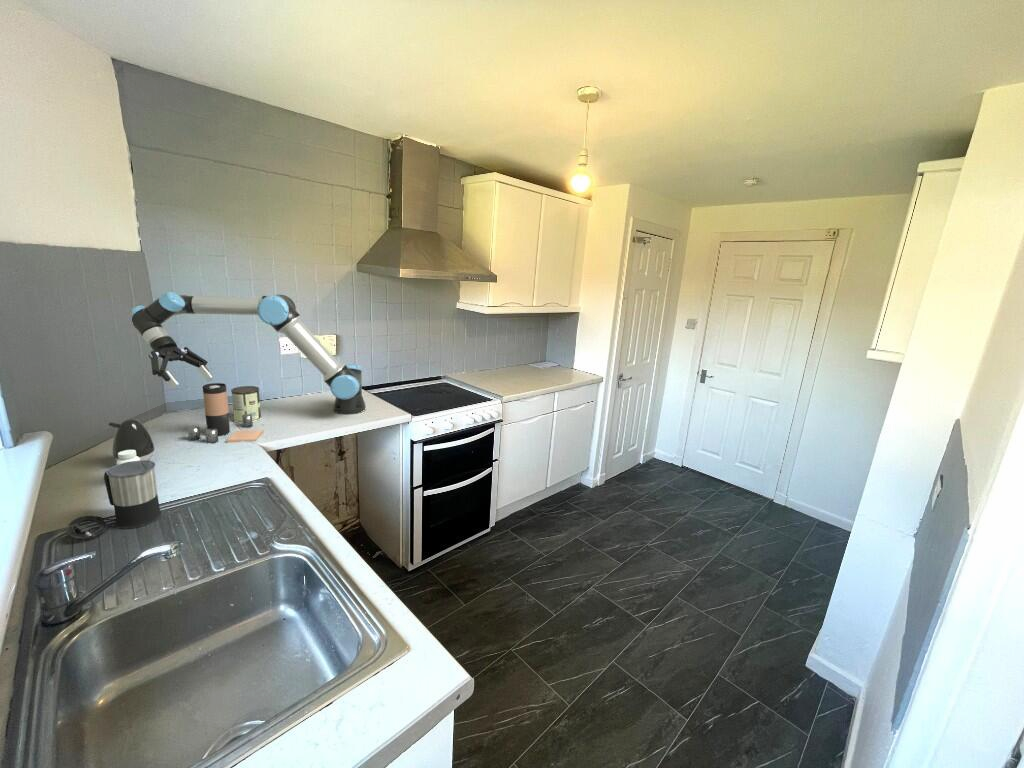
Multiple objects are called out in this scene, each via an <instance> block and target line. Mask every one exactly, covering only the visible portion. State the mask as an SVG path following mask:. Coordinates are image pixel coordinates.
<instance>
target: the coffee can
mask: <svg viewBox="0 0 1024 768" xmlns="http://www.w3.org/2000/svg"><path fill="white" fill-rule="evenodd" d="M230 392H231V398H232V408H233V420H234V421H233V422H235V423H238V424H243V423H242V415H244V414H252V422H253V423H254V422H259V421H261V419H262V414H261V413H262V411H261V402H260V401H261V400H260V387H259V386H255V385H244V386H243V385H242V386H237V387H234V388H232V389H231V390H230Z"/></svg>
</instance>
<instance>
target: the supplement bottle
mask: <svg viewBox="0 0 1024 768" xmlns="http://www.w3.org/2000/svg"><path fill="white" fill-rule="evenodd" d="M118 458H119V460H116V462H115V464H116V465H118V464H122V463H125V462H131V461H140V458H139V457H138V456H136V451H135V450H125V451H121V452H119V453H118ZM116 465H115V466H116Z"/></svg>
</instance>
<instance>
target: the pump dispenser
mask: <svg viewBox="0 0 1024 768" xmlns="http://www.w3.org/2000/svg"><path fill="white" fill-rule="evenodd" d="M108 426H110V427H112V428H116V431H115V433H114V437H113V441H112V456H113V458H114V459H115V460H116V461H117V460H119V458H118V453H119V452H121V451H125V450H135V451H136V456H138V457H139V458H140V460H147V461H150V459H151V458H152V457H153V455H154V452H155V444H154V442H153V439H152V436H151V435H150V432H149V431H148V429H147V428H146V427H145V425H144V424H143V423H142V422H140V420H137V419H136V418H135V419H134V418H129V419H125V420H123V421H122V422H120V423H116V422H109V423H108Z"/></svg>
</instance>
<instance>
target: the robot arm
mask: <svg viewBox="0 0 1024 768" xmlns="http://www.w3.org/2000/svg"><path fill="white" fill-rule="evenodd" d="M132 308H133V309H132V322H133V325H134V326H133V325H132V326H133V327H134V328H135V329H136V330H137V331H138V333H139V334H140V335H141V336H142V338H143V339H144V341H146V343H147V344H148V345H149V346H150V348H151V349H152V351H151V352H149V354H148V358H149V359H150V364H151V373H152V375H153V376H156V375H157V377H161V378H162V380H163V381H165V382H167V383H168V384H169V385H170V386H171V388H172V389H173V390H174V389H177V387H178V386H179V382H178V381H177V380H176V379H175V378H174V376H173V375H172V374H171V372H169V371H168V370H167V366H168V363H169V362H173V361H174V362H177V361H180V362H185V363H187V364H189V365H191V366H194V367H196V368H197V370H198V371H199V372H200V374H201V375H202V376H203V377H204V379H205V380H206V381H207V382H210V381H211V380H212V379H213V376H212V374H211V373H210V370H209V369H208V368H207V366H206V365H207V364H208V361H207V360H206V359H204V358H203V357H202V356H200V355H198V354H196V353H195V352H193V351H192V350H190V349H189V347H187V346H185V347H184V348H179V347H178V345H177V342H176V341H175V340H174V339H173V338H172V336H171V335H170V334H169V332H167V330H166V329H165V327H164V326H163V325H162V324H163V323H165V322H166V321H167V320H169V319H170V318H172V317H173V316H178V315H183V314H185V315H187V314H188V315H195V314H197V315H198V314H199V315H200V314H202V315H234V316H235V315H237V316H238V315H240V316H242V315H243V316H258V318H259V319H260V320H261V321H262V322H264V323H265V324H267V325H269V326H271V327H272V328H273V329H274V331H276V333H281V334H284V335H285V336H286V338H288V340H290V341H291V342H292V343H293V345H294V346H295V347H296V348H297V350H299V351H300V352H301V353H302V354H303V356H305V358H306V359H307V360H308V361H310V363H311V364H312V366H314V367H315V368H316V369H317V370H318V371H319V372H320V373H321V374H322V375H323V381H324V383H326V385H327V386H328V387H329V389H330V391H331V394H332V395H333V396H334V398H335V399H334V403H333V405H332V411H333V412H334V413H336V412H337V414H340V413H341V415H354V414H353V413H355V414H359V413H358V412H360V413H362V412H361V411H363V410H365V411H366V409H367V408H366V403H365V399H364V397H363V391H362V390H363V389H362V387H363V386H362V383H363V382H362V379H363V378H362V372H363V370H362V366H361V365H360V364H350V363H349V364H348V363H340V362H339V361H338V360H337V359H336V357H334V356H333V354H331V352H330V351H329V350H328V349H327V348H326V347H325V346H324V345H323V343H321V342H320V340H319V339H318V338H317V337H316V336H315V335H314V334H313V333H312V332H311V331H310V330H309V328H307V326H306V325H305V324H304V323H303V322H302V321H301V318H302V315H301V314H300V313H299V312H298V311H297V309H296V308H297V307H296V304H295V302H294V301H293V299H292V298H290V297H289V296H287V295H285V294H273V295H272V294H271V295H261V296H260V297H243V296H242V297H237V296H232V297H231V296H209V295H208V296H205V295H204V296H202V295H194V296H193V295H185V294H178V293H176V292H173V291H167V292H165V293H164V294H161V295H160V296H159V297H158V298H157V299H156V300H154V301H153V302H151V303H150V304H149V305H148V306H145V305H137V306H135V307H132ZM159 358H161V359H162V361H161V364H160V365H159ZM159 366H160V367H159ZM166 370H167V371H166ZM365 408H366V409H365ZM363 412H364V411H363Z"/></svg>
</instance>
